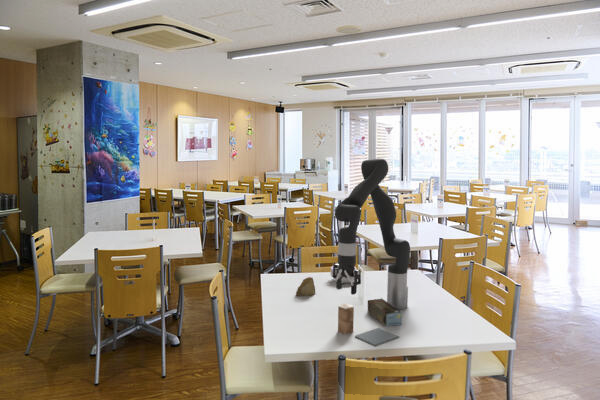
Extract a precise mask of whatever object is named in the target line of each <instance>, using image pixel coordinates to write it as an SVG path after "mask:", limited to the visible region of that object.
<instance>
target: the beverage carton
mask: <svg viewBox="0 0 600 400" xmlns="http://www.w3.org/2000/svg"><path fill="white" fill-rule="evenodd" d="M367 312H368V313H369V314H370V315H371V316H372V317H373V318H375V319H376V320H378V322H380V323H381V324H383V325H384V326H385V327H393V325H395V326H401V325H402V321H403V320H402V316H403V313H402V311H401V310H400V309H396V308H395V307H393V306H392V305H391V304H389V303H388V302H387V300H385V299H384V298H375V299H368V300H367Z"/></svg>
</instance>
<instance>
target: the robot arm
mask: <svg viewBox="0 0 600 400" xmlns="http://www.w3.org/2000/svg"><path fill="white" fill-rule="evenodd" d="M360 168H361V174H362V177H363V180H362V181H361V182H359V183H358V184H357V185H356V186H355V187H354V188H353V189H352V190H351V192H350V194H349V195H348V196H347V197H345V198H344V199H343V200H342V201H341V202H339V204H338V205H337V206H336V208H335V210H334V216H335V219H336V221H339V222H341V223H342V222H345V223H348V226H345V227H341V228H339V230H338V245H337V263H335V264H333V265H332V266H333V277H332V278H333V279H334V278H335V279H336V281H335V282H336V289H337V290H338V291H339V290H342V287H343V286H342V285H343V283H342V280H341V279H342V278H343V277H345V278H348V280H349V281H350V282H349V283H350V284H351V285H350V295H356V294H357V291H358V290H357V289H358V286H359V285H361V284H362V278H361V277H362V272H361V269H357V270H355V268H356V264H357V231H358V226H359V223H360V220H361V217H362V210H361V208H362V207H363V206H364V204H365V203H366V201H367V199H369V198H368V197H369V196H370V198H371V201H372V205H373V209H374V211H375V216H376V218H377V221H378V224H379V228H380V232H381V237H382V241H383V247H384V250H385V253H386V254H387V255H388V256H389V257H392V258H395V262H394V263H391V264H389V265H388V267H387V289H386V290H387V292H386V293H387V295H386V302H388V303H389V304H391V305H392V306H393V307H395V308H396V309H398V310H404V309H406V308H407V306H408V300H409V299H408V298H409V296H408V295H409V286H408V269H409V266H410V256H411V246H410V242H409V241H408V240H406V239H400V238H397V237H396V234H395V231H394V225H395V222H396V220H397V210H396V207H395V204H394V200H393V199H392V198H391V197H390V196H389V194H388V193H386V192H385V190H384V189H383V188H381V186H380V184H381V183H382V182H383V180H384V179H385V178H386V177H387V175H388V173H389V164H388V161H387V160H386V159H384V158H379V157H378V158H371V159H365V160H363V161H362V162H361V165H360ZM351 277H353V278H351Z"/></svg>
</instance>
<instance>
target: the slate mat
mask: <svg viewBox="0 0 600 400" xmlns="http://www.w3.org/2000/svg"><path fill="white" fill-rule="evenodd" d="M398 337H399V338H400V336H399V335H397V334H396V333H392V332H390V331H388V330H386V329H382V328H380V327H377V328H373V329H371V330H367V331H365V332H362V333H359V334H356V335H354V338H356V339H359V340H361V341H363V342H365V343H367V342H368V343H367V344H369V343H370V344H369V345H371V344H372V346H374V345H375V346H374V347H376V345H377V346H379V344H380V345H382V344H384V342H385V343H387V341H388V342H391V341H393V340H396V339H399V338H398ZM395 338H396V339H395ZM392 339H393V340H392Z"/></svg>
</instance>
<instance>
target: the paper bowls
mask: <svg viewBox="0 0 600 400" xmlns="http://www.w3.org/2000/svg"><path fill="white" fill-rule="evenodd" d="M355 270H358V269H357V267H355ZM330 277H331V278H333V265H332V266H330ZM351 278H353V277H351ZM333 279H334V281H335V282H336V279H335V278H333ZM341 280H342V284H348V283H350V281H349V280H348V278H345V277H343V278H342V279H341Z"/></svg>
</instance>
